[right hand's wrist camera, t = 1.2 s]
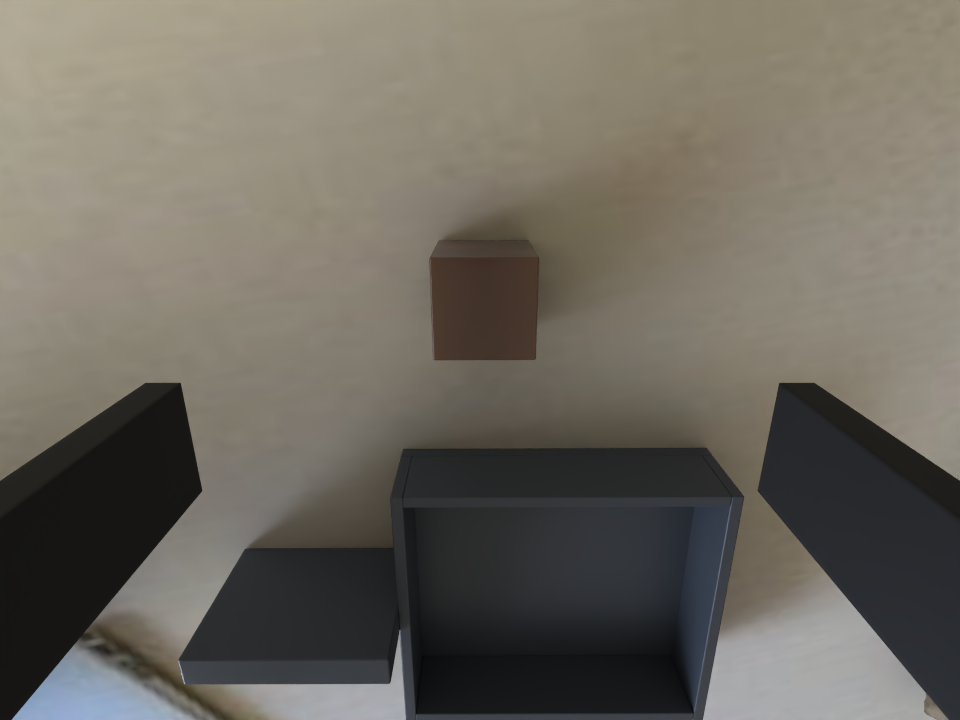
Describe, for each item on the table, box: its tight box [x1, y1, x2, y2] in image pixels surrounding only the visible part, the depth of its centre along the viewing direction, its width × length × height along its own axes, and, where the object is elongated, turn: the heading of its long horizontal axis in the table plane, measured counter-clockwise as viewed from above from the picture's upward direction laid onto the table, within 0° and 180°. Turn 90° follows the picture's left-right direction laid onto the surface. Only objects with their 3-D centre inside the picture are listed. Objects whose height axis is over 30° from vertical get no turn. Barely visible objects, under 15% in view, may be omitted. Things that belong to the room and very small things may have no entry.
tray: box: [179, 448, 744, 720], centre depth 30 cm, size 27×15×8 cm, turn 90°
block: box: [430, 240, 539, 360], centre depth 26 cm, size 4×4×5 cm
